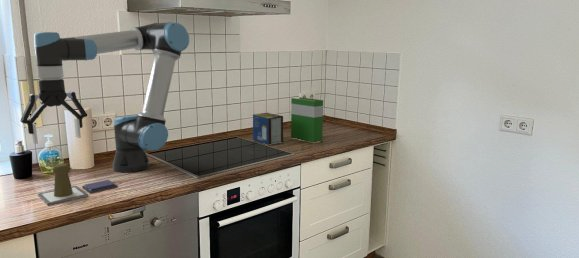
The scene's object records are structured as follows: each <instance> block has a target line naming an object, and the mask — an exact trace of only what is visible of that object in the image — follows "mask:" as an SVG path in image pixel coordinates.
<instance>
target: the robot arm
mask: <svg viewBox="0 0 579 258" xmlns="http://www.w3.org/2000/svg"><path fill="white" fill-rule="evenodd" d="M33 43H34V44H33V47H34V53H35V60H36V70H37V78H39V80H38V89H39V94H33V93H30V94H29V95H28V103H27V105H26V106H25V109H24V111H23V114H22V116H21V118H20V122H21V123H22V124H26V125H27V131H28V134H29V135H32V143H33V144H35V145H37V144H38V142H39V141H38V135H37V132H38V131H37V125H36V123H35V121H36V120H37V119H38V117H39V116H40V115H41V114H42V112H44V109H46V108H47V107H51V108H52V107H60V106H63V107H64V108H65V109H66V110H67V111H69V113H70V114H71V115H73V116H74V117H75V118H74V127H75V137H76V138H79V139H81V137H82V135H81V128H83V126H84V125H83V119H84V118H86V117H88V113H87V112H86V111H85V108H84V107H83V106H82V104H81V103H80V101H79V99H78V98H77V95H76V92H75V91H69V92H66V88H65V80H64V79H63V78H64V69H63V61H93V60H95V59H96V58H97V55H100V54H107V53H113V52H118V51H119V52H120V51H127V50H132V49H134V50H136V51H143V50H149V51H151V52H152V53H153V55H154V58H153V61H152V67H151V70H150V74H149V75H150V76H149V79H148V83H147V88H146V92H145V97H144V101H143V106H142V110H141V111H140V112H139V113H137V114H134V115H132V114H131V115H126V116H125V115H124V116H123V115H122V116H119V117H116V118H114V120H113V129H114V141H115V154H114V158H113V162H112V170H113V171H116V172H120V173H132V172H133V173H135V172H139V171H143V170H147V169H148V168H149V167H150V160H149V158H148V155H147V152H146V150H147V151H158V150H159V149H161V148H162V147H164V146H165V145H166V142H167V141H168V139H169V131H168V129H167V126H166V122H167V120H166V118H165V117H164V113H165V110H166V105H167V100H168V96H169V92H170V87H171V82H172V78H173V74H174V69H175V64H176V62H177V61H178V60H179V59H180V58H181V54H182V52H183V51H185V50H186V49H188V47H189V45H190V35H189V32H188V31H187V28H186V27H184V25H183V24H181V23H179V22H173V21H168V22H153V23H149V24H145V25H142V26H134V27H131V29H129V30H121V31H114V32H104V33H95V34H88V35H80V36H72V37H71V36H70V37H63V38H62V37H61V36H60V33H58V32H57V31H55V32H54V31H37V32H35V33H34V34H33ZM67 97H68V99H70V100H71V101H72V103H73V105H74V106H75V107H76V108H77V110H78V111H76V110H75V109H74V108H73V107H72V106H71V105H70V104H69V103H68V102H67V101H65V100H66V99H67ZM38 99H39V100H40V101H41V102H39V103H40V104H39V105H38V106H37V108H36V109H35V110H34V112H33V113H32V114H31V112H32V109H33V107H34V105H35V103H36V102H37V101H38ZM30 115H31V116H30Z"/></svg>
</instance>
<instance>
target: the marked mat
mask: <svg viewBox="0 0 579 258" xmlns="http://www.w3.org/2000/svg"><path fill="white" fill-rule="evenodd" d="M71 187H72V191H73V194H71V195H69V196H65V197H55V196H54V189H53V190H49V191H43V192H38V193H37V196H38V198H40V199H41V201H42V202H44V203H45V204H46V205H47V206H52V205H58V204H60V203H65V202H69V201H73V200H78V199H84V198H87V197H89V193H88V192H87V191H85V190H84V189H83V188H82V189H81V188H80V187H79V186H78V185H73V186H72V185H71Z"/></svg>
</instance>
